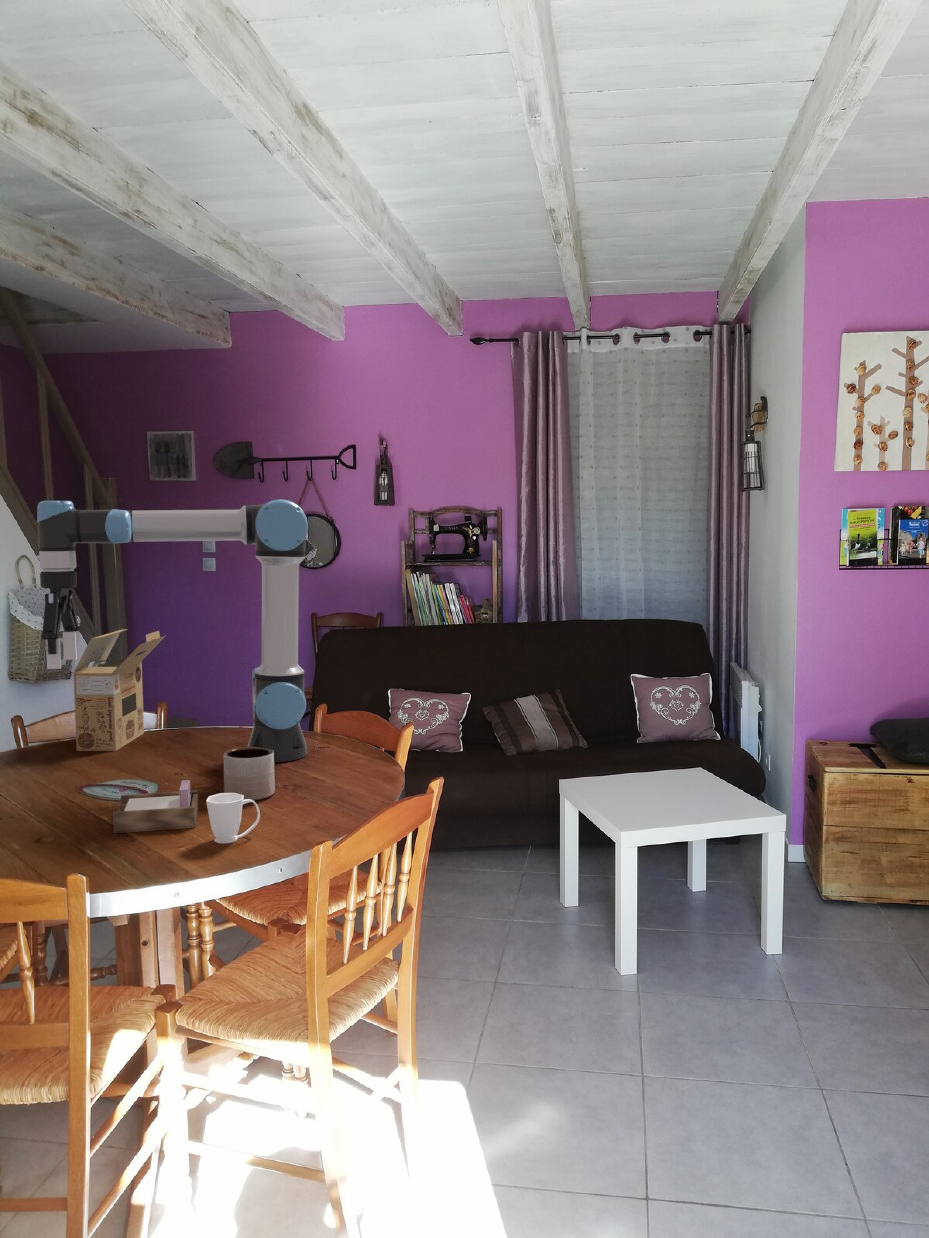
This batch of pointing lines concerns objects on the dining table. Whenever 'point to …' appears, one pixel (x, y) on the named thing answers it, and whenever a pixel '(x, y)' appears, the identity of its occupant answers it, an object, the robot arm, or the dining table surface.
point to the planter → (249, 772)
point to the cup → (227, 816)
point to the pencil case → (155, 815)
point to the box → (109, 695)
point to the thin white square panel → (162, 800)
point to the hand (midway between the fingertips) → (62, 664)
